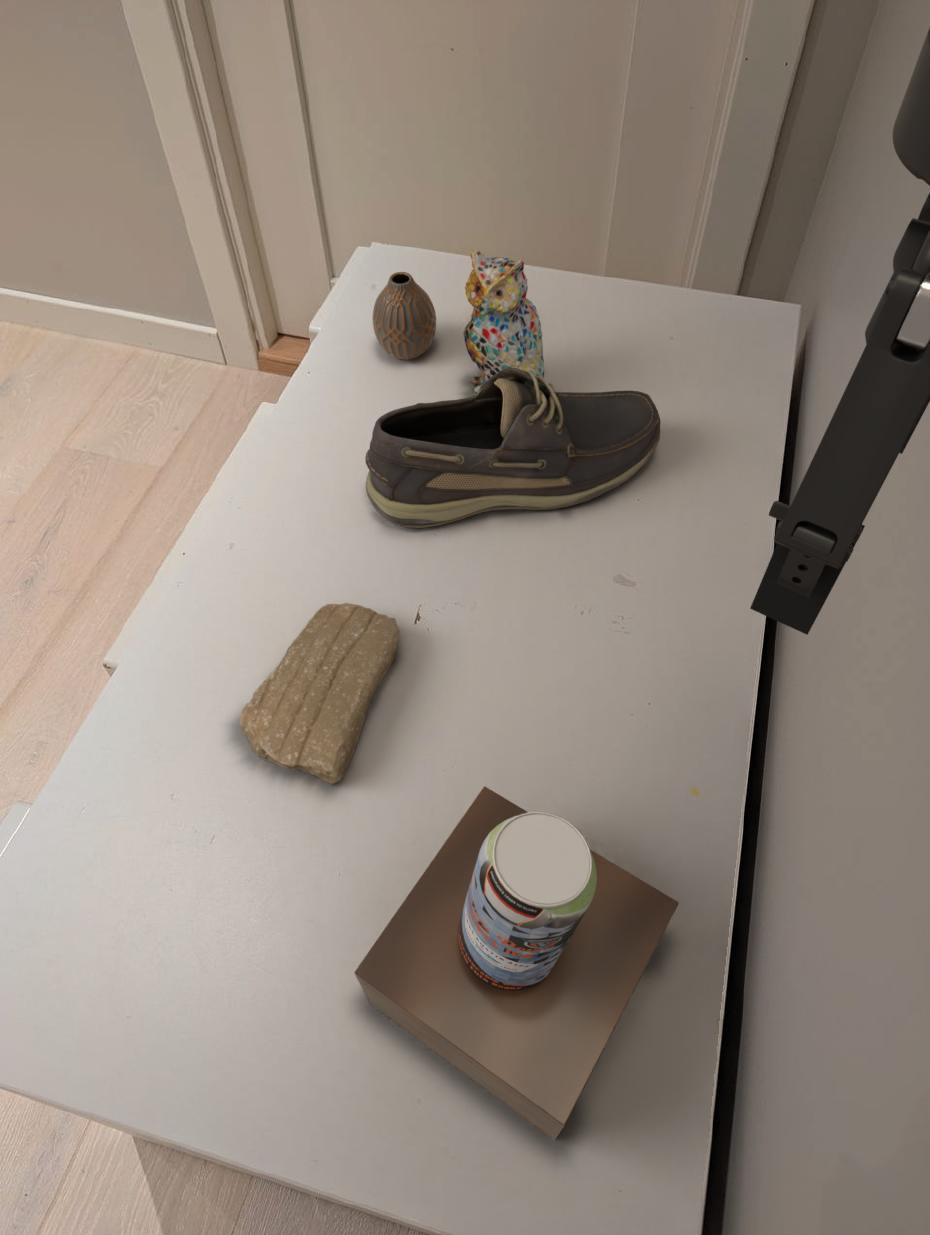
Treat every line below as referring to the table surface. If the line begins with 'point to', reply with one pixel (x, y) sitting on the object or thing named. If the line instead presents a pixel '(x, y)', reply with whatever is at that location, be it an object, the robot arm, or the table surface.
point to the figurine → (501, 319)
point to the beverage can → (525, 900)
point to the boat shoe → (506, 450)
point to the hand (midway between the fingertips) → (833, 522)
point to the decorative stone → (322, 691)
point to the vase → (404, 318)
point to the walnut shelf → (514, 1020)
